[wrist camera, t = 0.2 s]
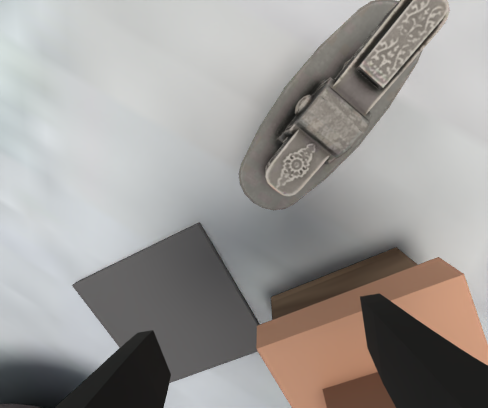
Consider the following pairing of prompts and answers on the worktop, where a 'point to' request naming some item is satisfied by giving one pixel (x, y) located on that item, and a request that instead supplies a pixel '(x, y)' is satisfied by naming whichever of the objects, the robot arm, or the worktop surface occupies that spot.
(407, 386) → the robot arm
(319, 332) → the lid
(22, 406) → the smooth stone
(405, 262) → the box
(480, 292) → the worktop surface
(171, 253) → the mat
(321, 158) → the ornate red tin
